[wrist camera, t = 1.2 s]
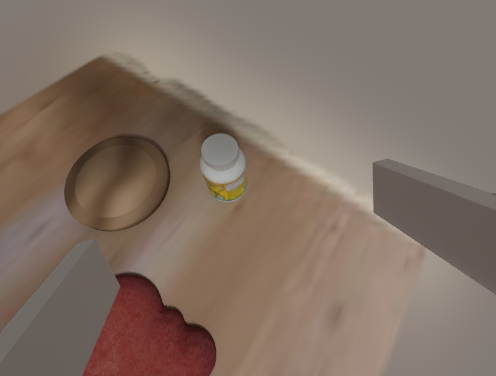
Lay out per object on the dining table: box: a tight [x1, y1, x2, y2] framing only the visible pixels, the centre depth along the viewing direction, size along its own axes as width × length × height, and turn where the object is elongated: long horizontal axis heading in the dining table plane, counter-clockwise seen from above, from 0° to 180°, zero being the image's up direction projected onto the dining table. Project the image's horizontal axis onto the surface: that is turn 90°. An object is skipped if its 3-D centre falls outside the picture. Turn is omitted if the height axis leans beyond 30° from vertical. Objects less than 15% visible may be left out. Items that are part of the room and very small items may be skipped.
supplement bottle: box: [200, 133, 247, 202], centre depth 30 cm, size 5×5×10 cm
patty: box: [82, 275, 216, 376], centre depth 26 cm, size 18×14×2 cm
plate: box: [64, 137, 170, 231], centre depth 34 cm, size 14×14×1 cm
